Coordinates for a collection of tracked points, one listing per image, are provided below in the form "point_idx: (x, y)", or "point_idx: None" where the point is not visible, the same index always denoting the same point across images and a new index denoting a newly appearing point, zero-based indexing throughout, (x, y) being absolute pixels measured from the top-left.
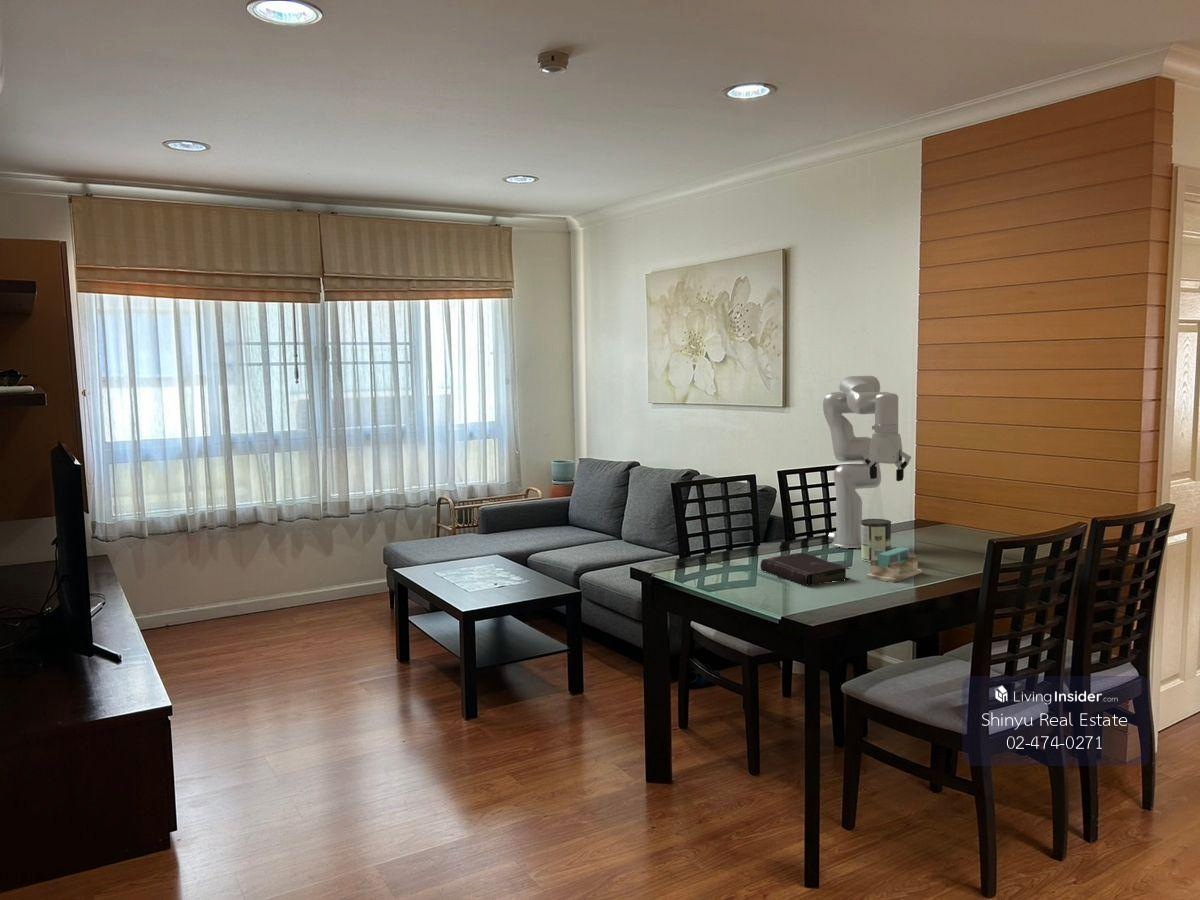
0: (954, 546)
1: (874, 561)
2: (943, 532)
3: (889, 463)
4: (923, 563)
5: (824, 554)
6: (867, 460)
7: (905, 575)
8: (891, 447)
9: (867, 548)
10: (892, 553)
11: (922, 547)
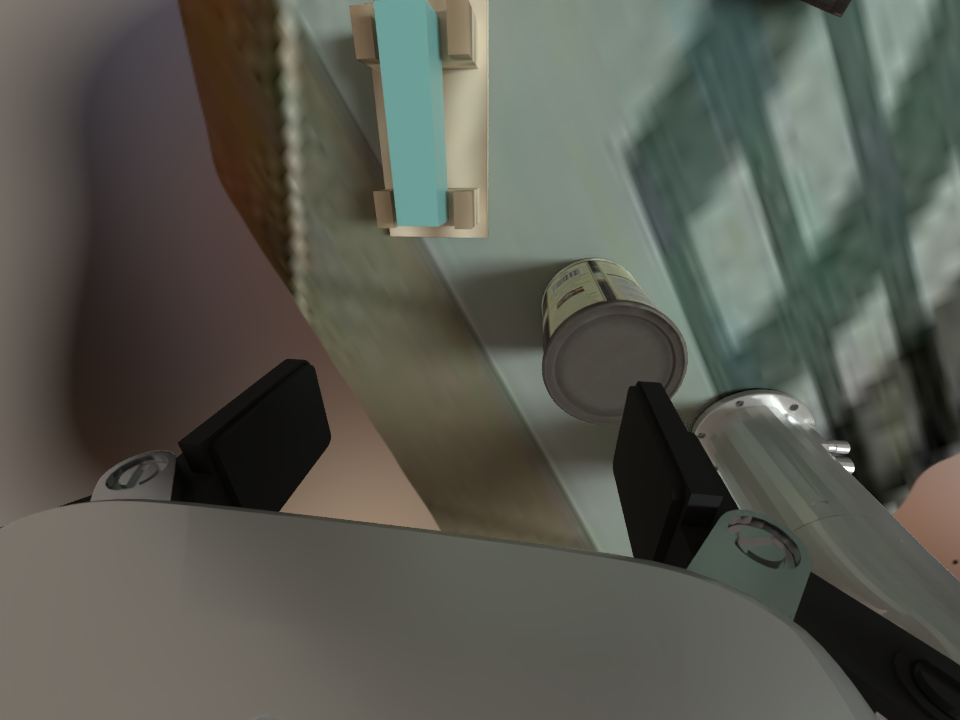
0: (492, 536)
1: (448, 1)
2: None
3: (207, 505)
4: (454, 346)
5: (795, 274)
6: (925, 704)
7: (377, 111)
8: None
9: (608, 271)
10: (387, 72)
11: (547, 500)
